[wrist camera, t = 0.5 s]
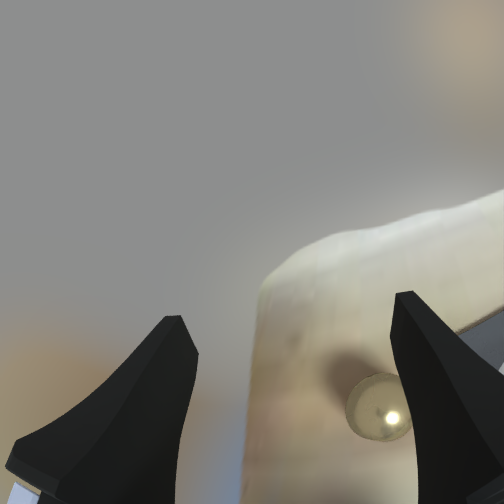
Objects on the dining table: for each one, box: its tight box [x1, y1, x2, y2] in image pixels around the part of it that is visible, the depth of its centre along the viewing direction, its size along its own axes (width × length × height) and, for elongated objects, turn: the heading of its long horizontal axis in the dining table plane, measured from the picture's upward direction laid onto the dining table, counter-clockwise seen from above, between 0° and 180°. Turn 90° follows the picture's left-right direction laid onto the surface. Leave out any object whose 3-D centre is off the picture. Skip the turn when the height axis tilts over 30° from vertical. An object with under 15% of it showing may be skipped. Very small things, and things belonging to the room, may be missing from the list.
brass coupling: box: [345, 373, 413, 442], centre depth 20 cm, size 5×5×5 cm
